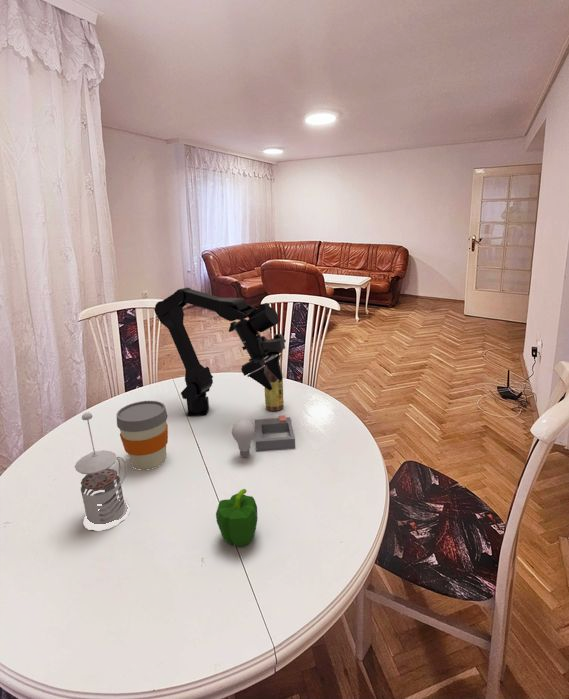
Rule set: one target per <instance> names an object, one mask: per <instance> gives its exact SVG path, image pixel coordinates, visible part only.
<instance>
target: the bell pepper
mask: <svg viewBox="0 0 569 699" xmlns="http://www.w3.org/2000/svg"><path fill="white" fill-rule="evenodd" d="M246 493H247V489H246V488H242V489H241V490H239V491H238V492H237V493H235V494H233V495H231V497H230V499H229V498H227V499H222V500H220V501H219V503H218V506H217V510H216V512H215V517H216V523H217V526H218V529H219V531H220V534H221V536H222V539H223V540H224V541H225V542H226V543H227V544H229V545H231V544H233V545H234V546H236V547H240V548H241V547H243V546H247V545H249V543H251V542H252V540H254V536H255V533H256V529H257V524H258V505H257V503H256V500H255V498H254V497H253V496H252V495H251V496H250V495H246Z"/></svg>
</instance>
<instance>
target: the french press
mask: <svg viewBox="0 0 569 699" xmlns="http://www.w3.org/2000/svg"><path fill="white" fill-rule="evenodd" d="M92 418H93V414H92V413H91V412H90V411H89V412H84V413H83V414H82V415H81V420H83V421H87V425H88V431H89V435H90V439H91V444H92V452H89V453H87V454H86V455H84V456H82V457H80V459H79V460H77V461H76V463H75V465H74V469H75V471H76V472H78V473H79V474H82V475H85V476H84V477H83V478H82V480H81V481H80V485H81V487H80V493H81V497H82V502H83V506H84V510H85V515H86V516H87V519H88V520H89V521H90V522H92V523H94V524H106V523H109V522H112V521H114V520H119V519H121V518H122V517H123V516H124V515H125V514H126V512H127V509H128V507H127V505H126V503H127V502H125V499H124V494H123V488H122V484H123V483H124V480H125V478H126V477H127V476H126V474H127V466H126V461H125V460H124V458H123V457H120V456H117V454H116V453H115V452H113V451H111V450H105V449H104V450H97V451H95V447H94V441H93V435H92V432H91V425H90V421H89V420H91V419H92ZM120 460H121V461H122V462H123V464H124V475H123V478H122V480H121V478H120V474H121V467H122V466H121V462H120ZM116 461H117V462H118V467H119V468H118V472H117V470H116V469H114V468H112V466H113V465H114V464H116ZM90 490H91V491H90ZM99 491H100V492H99ZM117 491H118V492H117ZM94 492H96V493H94ZM93 493H94V494H93ZM119 500H120V501H119ZM124 502H125V503H124ZM97 504H102V506H97ZM98 509H100V510H99V511H98Z"/></svg>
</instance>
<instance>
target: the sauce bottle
mask: <svg viewBox="0 0 569 699" xmlns="http://www.w3.org/2000/svg"><path fill="white" fill-rule="evenodd" d="M277 355H279V354H277ZM266 373H267V376H268V378H269V380H270V383H271V386H272V390H268V389H267V388H265V387H264V402H265V409H266V410H268V411H269V412H278V411H280V410H283V408H284V378H283V379H282V380H279V379H278V378H277V377H276V376H275V375H274V374H273V373H272V372H271V371H270V370H269V369H268V368H267V369H266ZM283 376H284V375H283V373H282V377H283Z"/></svg>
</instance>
